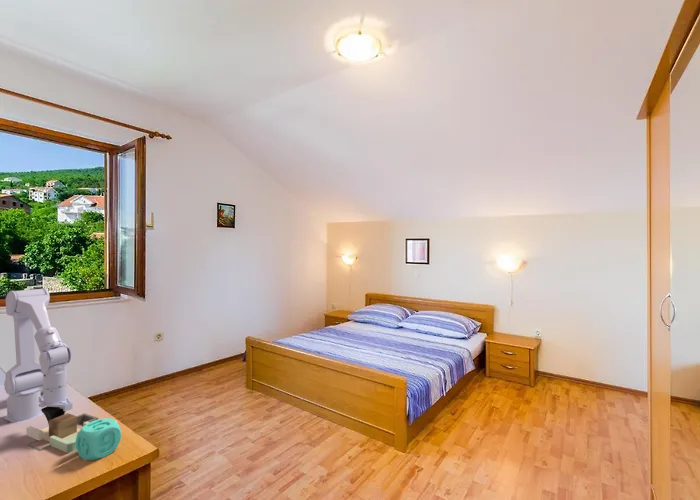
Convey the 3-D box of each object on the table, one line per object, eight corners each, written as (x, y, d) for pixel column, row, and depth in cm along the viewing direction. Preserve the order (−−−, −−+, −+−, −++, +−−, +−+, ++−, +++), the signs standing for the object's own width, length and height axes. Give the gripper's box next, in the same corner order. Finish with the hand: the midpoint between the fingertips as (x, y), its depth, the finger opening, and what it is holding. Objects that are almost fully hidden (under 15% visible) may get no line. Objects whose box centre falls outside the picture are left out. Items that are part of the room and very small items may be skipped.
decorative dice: (105, 441, 105) (105, 415, 105) (121, 448, 102) (121, 421, 102) (75, 456, 98) (75, 428, 98) (91, 464, 95) (91, 435, 95)
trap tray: (14, 441, 104) (14, 431, 104) (73, 418, 119) (73, 409, 119) (57, 460, 96) (57, 450, 96) (115, 432, 110) (115, 423, 110)
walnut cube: (48, 436, 107) (48, 420, 106) (67, 428, 111) (67, 413, 111) (58, 440, 105) (58, 423, 104) (76, 432, 109) (76, 416, 109)
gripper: (26, 386, 109) (26, 429, 109) (53, 394, 103) (53, 440, 103) (53, 378, 115) (53, 419, 115) (79, 386, 109) (79, 429, 109)
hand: (55, 428), depth 110 cm, fingers closed
